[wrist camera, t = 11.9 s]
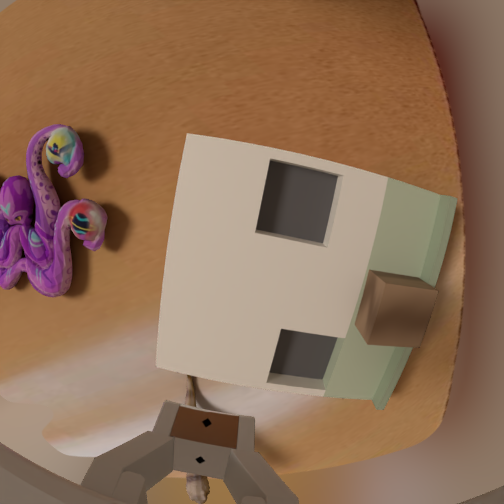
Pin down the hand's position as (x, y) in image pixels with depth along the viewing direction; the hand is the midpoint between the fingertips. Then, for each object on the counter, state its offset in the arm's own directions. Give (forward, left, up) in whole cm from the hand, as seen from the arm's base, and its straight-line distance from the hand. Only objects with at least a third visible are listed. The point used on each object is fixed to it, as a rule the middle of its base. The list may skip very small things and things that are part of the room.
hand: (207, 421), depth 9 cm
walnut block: (+1, +16, -21) cm, 26 cm away
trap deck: (+1, +6, -23) cm, 24 cm away
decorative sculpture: (0, -29, -24) cm, 37 cm away
